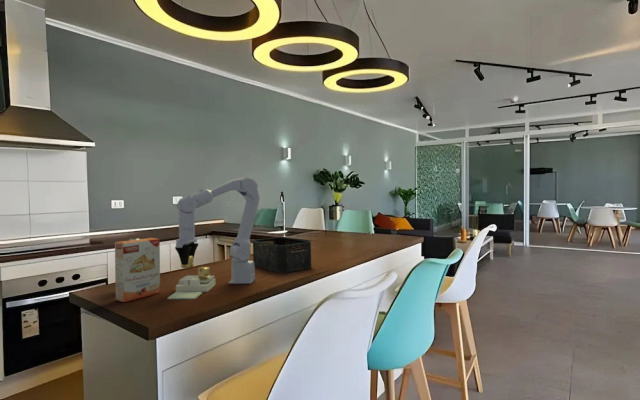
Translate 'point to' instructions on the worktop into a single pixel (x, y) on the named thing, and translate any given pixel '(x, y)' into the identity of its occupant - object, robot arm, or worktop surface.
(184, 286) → the scale
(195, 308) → the worktop surface
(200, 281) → the scale pan
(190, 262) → the cylinder
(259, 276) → the worktop surface
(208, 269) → the brass weight
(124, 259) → the cracker box
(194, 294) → the rubber mat
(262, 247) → the storage bin
